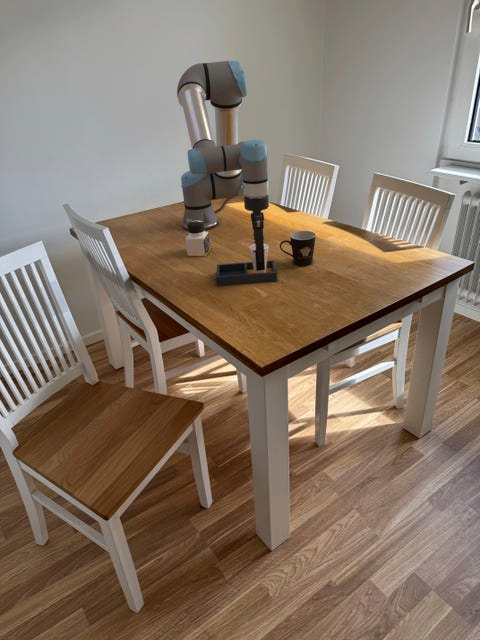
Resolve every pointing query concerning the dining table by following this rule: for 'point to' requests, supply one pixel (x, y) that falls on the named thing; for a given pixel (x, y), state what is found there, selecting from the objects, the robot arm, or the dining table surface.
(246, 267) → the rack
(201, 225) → the medicine bottle
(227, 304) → the dining table surface
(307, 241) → the coffee mug
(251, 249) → the smoothie
